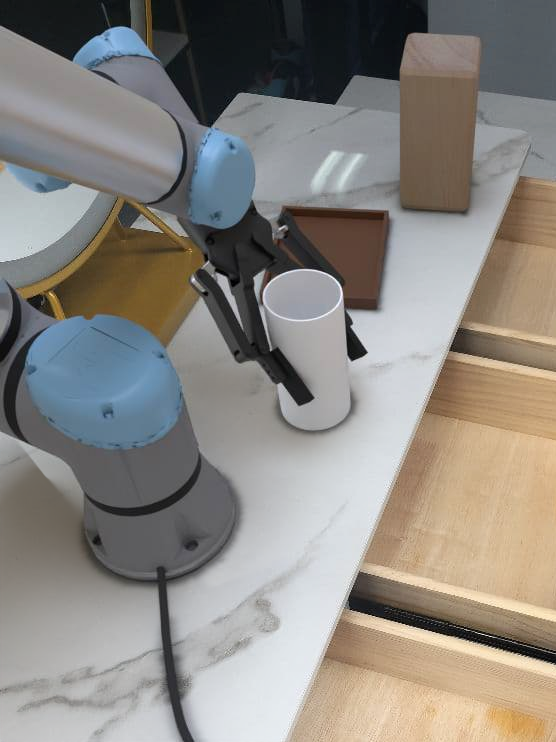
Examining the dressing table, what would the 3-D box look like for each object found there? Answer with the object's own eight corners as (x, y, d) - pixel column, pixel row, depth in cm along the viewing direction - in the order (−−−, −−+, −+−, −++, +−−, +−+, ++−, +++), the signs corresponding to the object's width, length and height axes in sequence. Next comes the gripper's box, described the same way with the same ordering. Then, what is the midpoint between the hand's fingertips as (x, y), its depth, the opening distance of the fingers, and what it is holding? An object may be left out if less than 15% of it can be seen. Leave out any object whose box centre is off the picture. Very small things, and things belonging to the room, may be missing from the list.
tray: (376, 309, 106) (376, 298, 104) (261, 303, 106) (259, 293, 105) (389, 220, 117) (388, 210, 115) (283, 216, 117) (282, 205, 116)
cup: (271, 392, 97) (251, 281, 84) (335, 372, 99) (325, 260, 86) (295, 439, 93) (278, 330, 80) (361, 417, 95) (355, 307, 82)
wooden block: (471, 175, 123) (482, 32, 107) (468, 214, 118) (479, 70, 101) (406, 171, 124) (406, 29, 107) (399, 210, 118) (398, 66, 102)
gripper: (133, 229, 75) (283, 430, 82) (290, 132, 84) (411, 320, 92) (112, 256, 81) (253, 440, 88) (260, 163, 90) (376, 336, 98)
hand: (333, 379), depth 90 cm, fingers closed on cup, 8 cm apart
